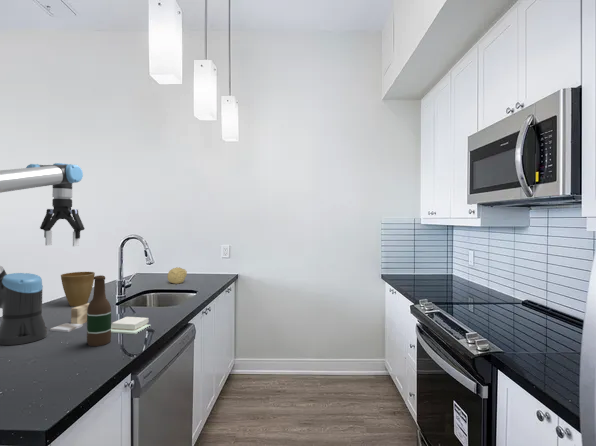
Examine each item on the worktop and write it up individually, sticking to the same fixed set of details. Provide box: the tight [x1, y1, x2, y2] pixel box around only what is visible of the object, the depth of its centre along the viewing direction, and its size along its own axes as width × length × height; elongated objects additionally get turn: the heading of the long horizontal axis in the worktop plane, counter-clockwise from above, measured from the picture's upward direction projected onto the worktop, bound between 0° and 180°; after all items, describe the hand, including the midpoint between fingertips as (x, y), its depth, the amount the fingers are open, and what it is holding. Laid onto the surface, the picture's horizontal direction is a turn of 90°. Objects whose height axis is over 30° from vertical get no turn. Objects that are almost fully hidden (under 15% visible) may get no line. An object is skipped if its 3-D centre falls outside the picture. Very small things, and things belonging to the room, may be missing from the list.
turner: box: [49, 302, 90, 333], centre depth 155 cm, size 20×8×7 cm, turn 172°
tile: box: [111, 316, 149, 330], centre depth 152 cm, size 2×10×10 cm
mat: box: [111, 323, 152, 335], centre depth 150 cm, size 11×14×1 cm
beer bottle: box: [86, 274, 112, 347], centre depth 133 cm, size 8×8×24 cm
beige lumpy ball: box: [167, 266, 188, 285], centre depth 256 cm, size 12×12×11 cm
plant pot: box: [60, 271, 96, 308], centre depth 188 cm, size 15×15×16 cm
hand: (62, 245), depth 167 cm, fingers open, 13 cm apart
